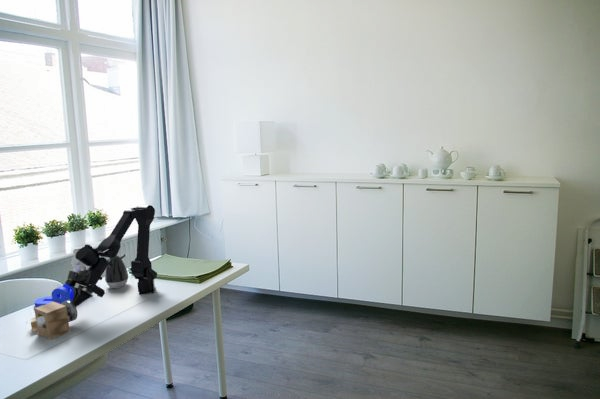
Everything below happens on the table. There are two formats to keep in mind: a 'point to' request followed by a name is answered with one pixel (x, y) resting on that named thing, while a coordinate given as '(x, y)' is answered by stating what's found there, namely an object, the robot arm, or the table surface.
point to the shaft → (70, 312)
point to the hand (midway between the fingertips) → (72, 307)
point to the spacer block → (34, 324)
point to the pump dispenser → (116, 273)
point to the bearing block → (53, 320)
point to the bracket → (57, 296)
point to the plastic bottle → (77, 263)
